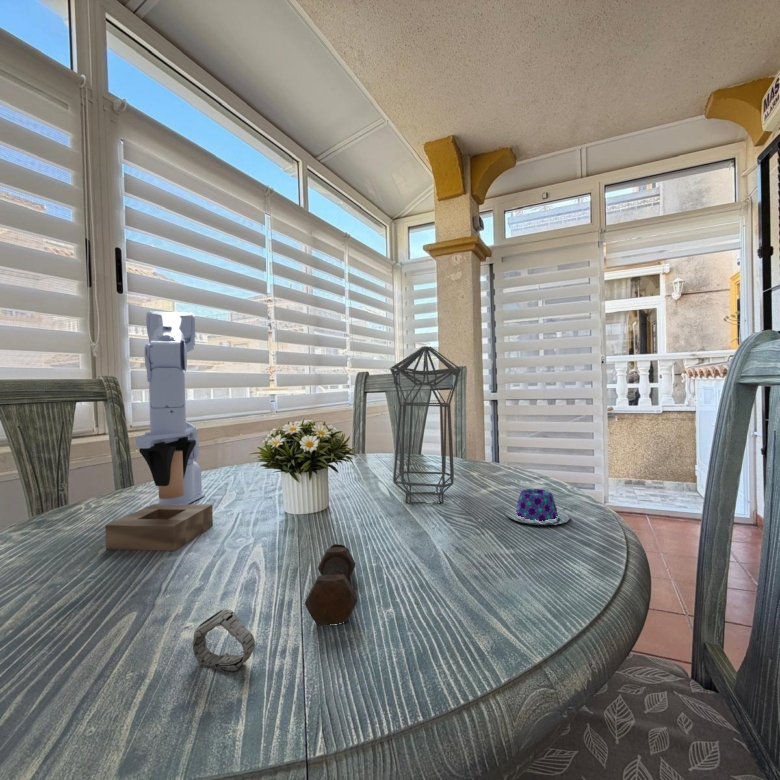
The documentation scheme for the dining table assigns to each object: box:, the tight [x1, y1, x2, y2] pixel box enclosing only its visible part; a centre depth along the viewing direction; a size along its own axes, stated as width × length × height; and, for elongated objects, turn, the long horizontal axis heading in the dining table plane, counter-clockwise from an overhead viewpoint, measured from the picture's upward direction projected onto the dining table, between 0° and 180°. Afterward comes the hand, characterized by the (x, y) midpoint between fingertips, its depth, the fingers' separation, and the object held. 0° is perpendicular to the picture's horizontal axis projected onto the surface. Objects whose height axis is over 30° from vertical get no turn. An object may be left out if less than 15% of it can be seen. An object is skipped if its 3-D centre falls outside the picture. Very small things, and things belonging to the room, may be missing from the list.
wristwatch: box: [192, 608, 256, 672], centre depth 40 cm, size 4×6×5 cm, turn 73°
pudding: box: [516, 488, 558, 521], centre depth 80 cm, size 12×12×5 cm
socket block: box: [104, 503, 214, 552], centre depth 74 cm, size 12×12×4 cm
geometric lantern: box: [389, 345, 462, 504], centre depth 95 cm, size 16×16×35 cm
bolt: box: [304, 543, 358, 626], centre depth 53 cm, size 6×5×15 cm
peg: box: [157, 450, 184, 499], centre depth 75 cm, size 4×4×8 cm
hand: (170, 482), depth 75 cm, fingers closed on peg, 4 cm apart
